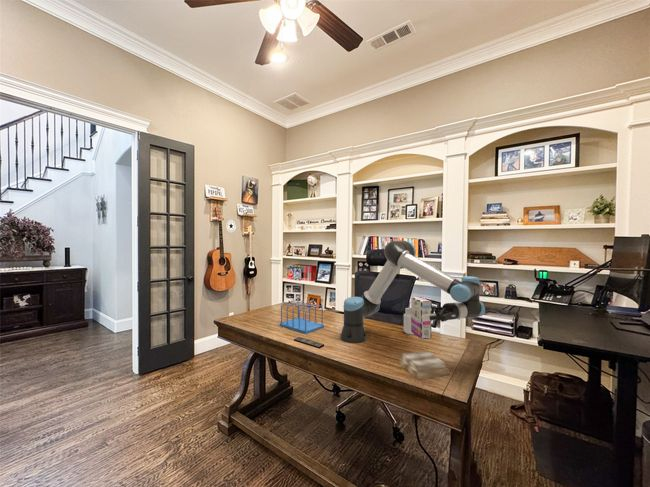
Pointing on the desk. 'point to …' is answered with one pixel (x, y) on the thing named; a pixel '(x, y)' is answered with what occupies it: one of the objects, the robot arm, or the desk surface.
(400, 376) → the desk surface
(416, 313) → the candy bar box
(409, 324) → the mug
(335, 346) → the desk surface
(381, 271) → the robot arm
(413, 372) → the plinth
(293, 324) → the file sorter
